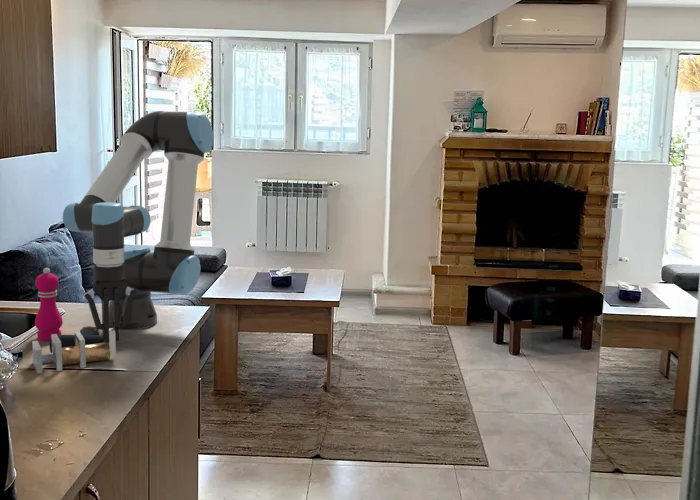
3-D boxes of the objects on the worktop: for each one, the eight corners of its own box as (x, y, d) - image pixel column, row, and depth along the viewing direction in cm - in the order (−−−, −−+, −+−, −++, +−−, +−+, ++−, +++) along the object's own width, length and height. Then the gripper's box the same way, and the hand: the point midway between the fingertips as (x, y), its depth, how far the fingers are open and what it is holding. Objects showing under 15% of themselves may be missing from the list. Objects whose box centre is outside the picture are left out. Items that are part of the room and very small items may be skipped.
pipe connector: (63, 324, 203) (118, 324, 204) (63, 342, 204) (119, 343, 205) (49, 337, 192) (108, 338, 193) (50, 356, 193) (108, 357, 194)
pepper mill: (65, 333, 212) (62, 265, 208) (61, 341, 205) (58, 270, 201) (38, 334, 210) (35, 265, 207) (33, 341, 203) (29, 270, 200)
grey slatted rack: (79, 357, 192) (78, 330, 191) (85, 367, 184) (84, 339, 183) (32, 362, 186) (31, 335, 185) (37, 374, 179) (36, 345, 177)
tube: (107, 359, 192) (105, 341, 193) (110, 359, 189) (109, 342, 189) (58, 365, 186) (56, 347, 187) (60, 366, 183) (59, 348, 183)
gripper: (85, 268, 180) (88, 361, 184) (138, 265, 186) (140, 354, 190) (79, 263, 186) (82, 353, 191) (131, 259, 193) (133, 346, 197)
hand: (111, 353), depth 191 cm, fingers closed
